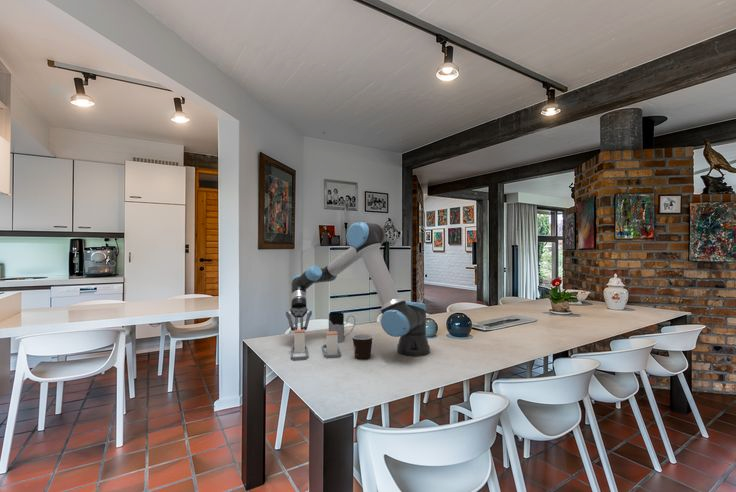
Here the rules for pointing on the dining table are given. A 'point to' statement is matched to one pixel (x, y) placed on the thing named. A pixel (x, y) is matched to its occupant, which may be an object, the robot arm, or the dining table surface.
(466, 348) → the dining table surface
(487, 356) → the dining table surface
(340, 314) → the grey pitcher
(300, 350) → the tab
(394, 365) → the dining table surface
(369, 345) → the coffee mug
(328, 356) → the grey double base frame
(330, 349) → the tab
